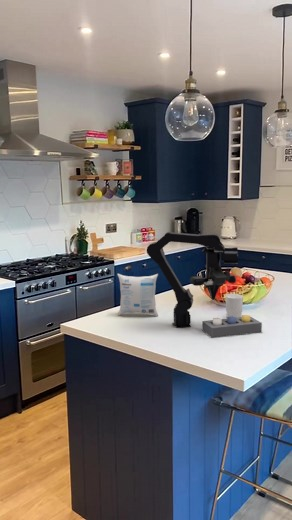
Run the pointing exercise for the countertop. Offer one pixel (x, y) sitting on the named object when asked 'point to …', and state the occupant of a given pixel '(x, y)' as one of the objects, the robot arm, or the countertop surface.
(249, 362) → the countertop surface
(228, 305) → the white cup
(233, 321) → the navy key
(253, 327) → the key block
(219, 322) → the white key
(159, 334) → the countertop surface
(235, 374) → the countertop surface
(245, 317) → the ochre key
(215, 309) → the countertop surface
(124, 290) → the pouch
